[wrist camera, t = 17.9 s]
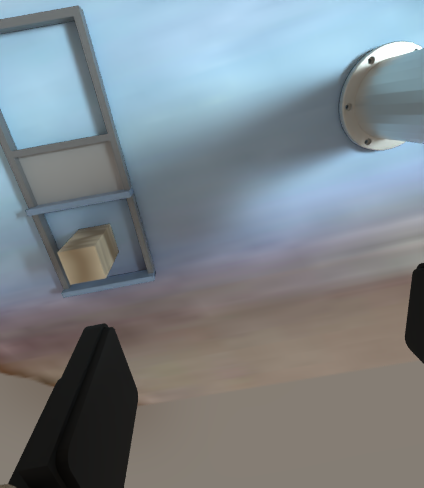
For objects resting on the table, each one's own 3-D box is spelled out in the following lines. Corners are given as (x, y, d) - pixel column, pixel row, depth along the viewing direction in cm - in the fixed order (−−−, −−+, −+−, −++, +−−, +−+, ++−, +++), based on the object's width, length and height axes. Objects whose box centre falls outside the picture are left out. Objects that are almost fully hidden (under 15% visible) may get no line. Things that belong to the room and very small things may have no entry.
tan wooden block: (110, 223, 43) (94, 245, 36) (118, 251, 45) (105, 278, 37) (78, 229, 43) (57, 252, 36) (89, 257, 45) (70, 284, 37)
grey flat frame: (82, 10, 33) (75, 2, 31) (155, 272, 47) (154, 280, 44) (-40, 31, 33) (-57, 25, 31) (69, 288, 46) (63, 297, 44)
